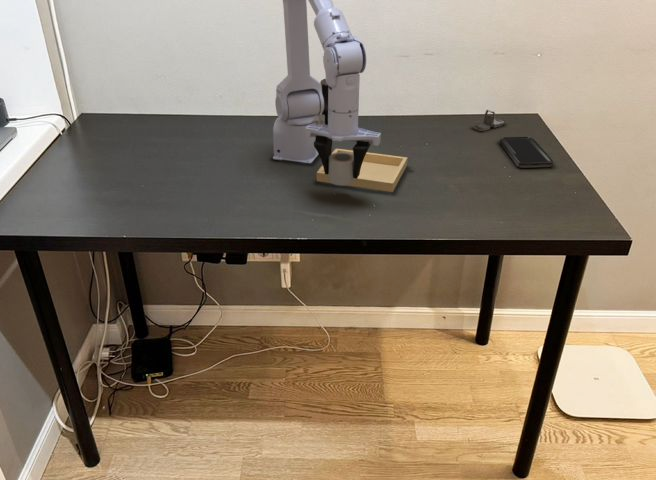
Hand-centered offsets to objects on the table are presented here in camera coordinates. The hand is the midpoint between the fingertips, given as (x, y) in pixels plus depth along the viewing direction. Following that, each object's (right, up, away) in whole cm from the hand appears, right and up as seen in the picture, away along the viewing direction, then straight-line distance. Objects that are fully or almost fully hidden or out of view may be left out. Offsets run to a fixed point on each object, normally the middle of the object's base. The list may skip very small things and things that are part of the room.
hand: (341, 174), depth 129 cm
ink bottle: (0, +17, +36) cm, 40 cm away
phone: (+44, +8, +20) cm, 49 cm away
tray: (+5, +2, +13) cm, 14 cm away
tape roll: (0, -1, +1) cm, 1 cm away
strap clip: (+40, +17, +35) cm, 56 cm away
